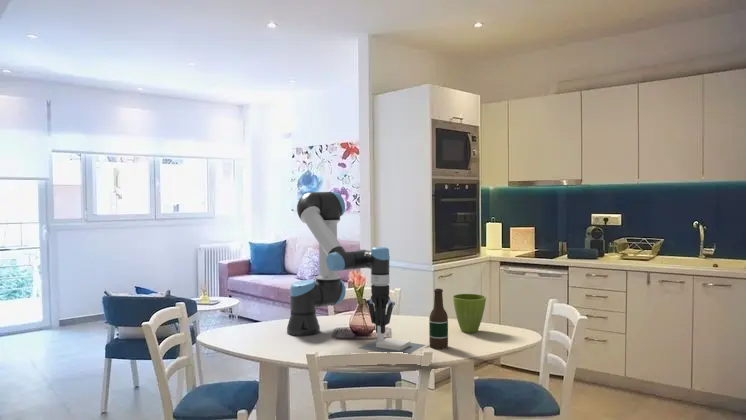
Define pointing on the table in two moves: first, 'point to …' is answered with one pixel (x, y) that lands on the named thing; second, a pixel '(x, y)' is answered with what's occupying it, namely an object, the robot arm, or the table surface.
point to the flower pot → (469, 311)
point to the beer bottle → (438, 323)
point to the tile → (393, 344)
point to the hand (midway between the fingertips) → (380, 340)
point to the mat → (407, 350)
